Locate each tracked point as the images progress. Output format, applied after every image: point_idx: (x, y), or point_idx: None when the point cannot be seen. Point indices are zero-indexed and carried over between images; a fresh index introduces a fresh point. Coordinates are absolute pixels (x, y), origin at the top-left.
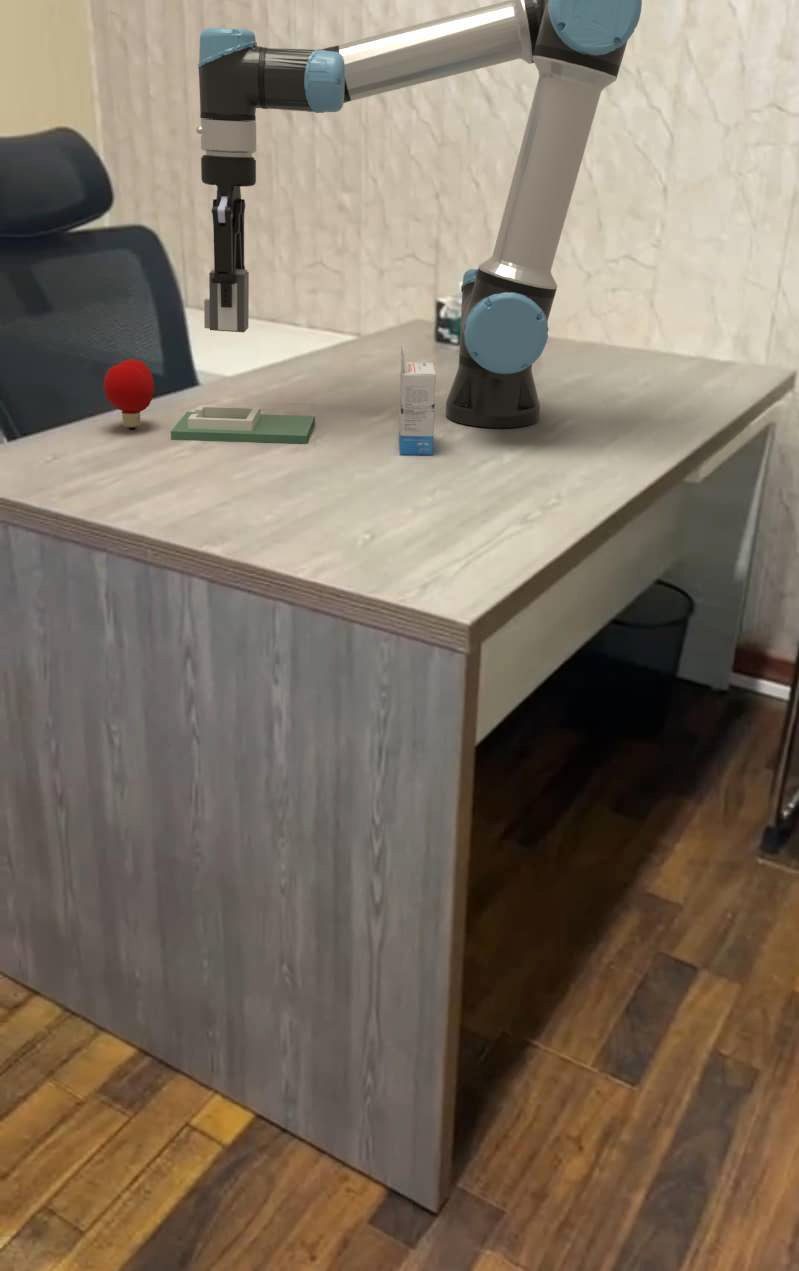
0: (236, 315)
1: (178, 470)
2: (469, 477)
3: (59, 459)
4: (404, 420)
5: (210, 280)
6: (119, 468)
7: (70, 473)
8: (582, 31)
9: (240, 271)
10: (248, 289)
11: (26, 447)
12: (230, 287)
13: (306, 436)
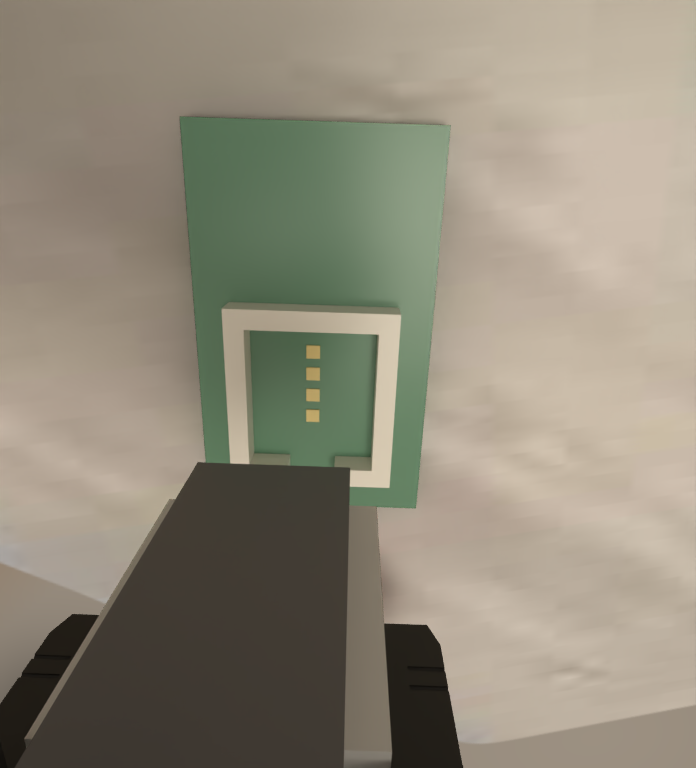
0: (379, 561)
1: (691, 440)
2: None
3: (577, 661)
4: None
5: None
6: (657, 555)
7: (682, 627)
8: None
9: None
10: (111, 620)
11: (487, 723)
12: (460, 762)
13: (450, 125)
